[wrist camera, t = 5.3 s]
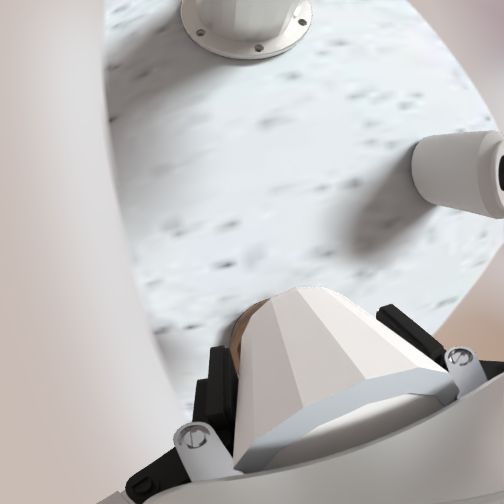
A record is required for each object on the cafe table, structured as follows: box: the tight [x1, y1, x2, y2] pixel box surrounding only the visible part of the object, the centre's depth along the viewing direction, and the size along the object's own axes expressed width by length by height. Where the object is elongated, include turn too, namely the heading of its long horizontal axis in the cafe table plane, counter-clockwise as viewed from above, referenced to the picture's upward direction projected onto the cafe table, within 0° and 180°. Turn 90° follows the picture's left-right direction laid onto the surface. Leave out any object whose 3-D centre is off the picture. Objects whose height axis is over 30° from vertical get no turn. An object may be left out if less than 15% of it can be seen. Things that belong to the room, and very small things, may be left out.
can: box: [411, 131, 504, 219], centre depth 20 cm, size 8×8×12 cm
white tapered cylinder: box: [233, 287, 460, 474], centre depth 9 cm, size 7×7×7 cm
